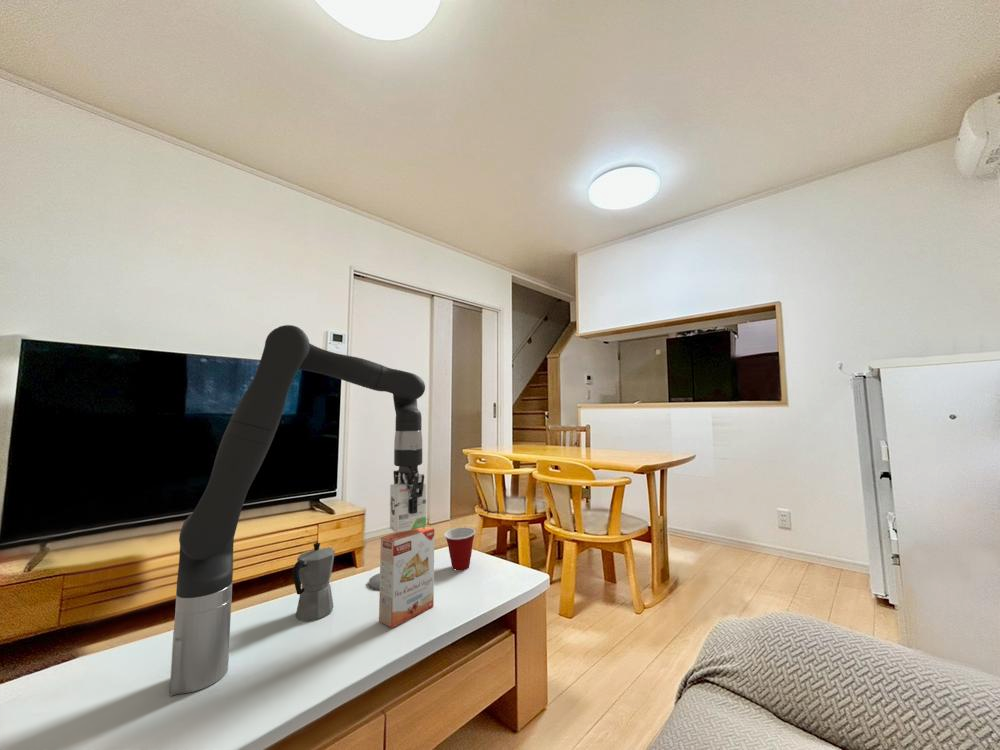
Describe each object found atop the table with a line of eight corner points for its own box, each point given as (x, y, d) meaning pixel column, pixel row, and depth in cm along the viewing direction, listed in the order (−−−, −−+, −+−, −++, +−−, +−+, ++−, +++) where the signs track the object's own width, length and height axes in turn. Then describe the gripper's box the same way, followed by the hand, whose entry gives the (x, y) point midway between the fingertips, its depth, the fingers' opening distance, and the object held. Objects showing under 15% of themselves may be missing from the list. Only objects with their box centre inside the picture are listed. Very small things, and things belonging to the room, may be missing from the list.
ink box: (419, 523, 108) (419, 480, 110) (426, 527, 104) (426, 482, 106) (389, 529, 103) (389, 483, 105) (395, 533, 99) (396, 486, 101)
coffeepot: (315, 600, 111) (317, 534, 113) (345, 602, 109) (346, 536, 111) (274, 629, 96) (277, 553, 98) (308, 632, 94) (310, 555, 96)
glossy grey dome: (378, 593, 114) (378, 590, 114) (363, 581, 123) (363, 577, 123) (415, 582, 122) (415, 578, 122) (398, 571, 131) (398, 567, 131)
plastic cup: (437, 569, 132) (437, 532, 133) (460, 559, 140) (460, 525, 141) (459, 576, 125) (459, 538, 126) (482, 566, 133) (482, 530, 134)
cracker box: (393, 630, 94) (393, 540, 97) (378, 622, 98) (379, 536, 100) (435, 606, 105) (435, 527, 108) (420, 601, 109) (420, 524, 111)
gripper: (384, 447, 109) (383, 509, 107) (407, 449, 98) (407, 519, 97) (408, 445, 114) (408, 505, 112) (433, 447, 103) (433, 513, 101)
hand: (407, 511), depth 104 cm, fingers closed on ink box, 5 cm apart
